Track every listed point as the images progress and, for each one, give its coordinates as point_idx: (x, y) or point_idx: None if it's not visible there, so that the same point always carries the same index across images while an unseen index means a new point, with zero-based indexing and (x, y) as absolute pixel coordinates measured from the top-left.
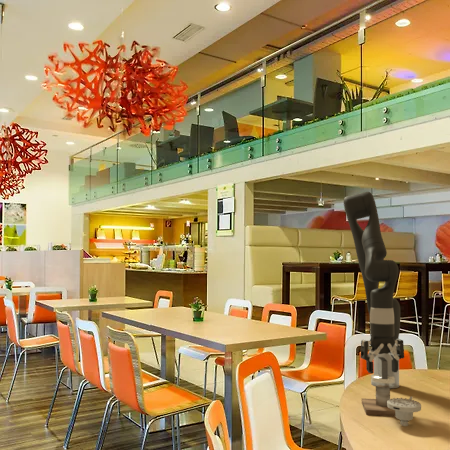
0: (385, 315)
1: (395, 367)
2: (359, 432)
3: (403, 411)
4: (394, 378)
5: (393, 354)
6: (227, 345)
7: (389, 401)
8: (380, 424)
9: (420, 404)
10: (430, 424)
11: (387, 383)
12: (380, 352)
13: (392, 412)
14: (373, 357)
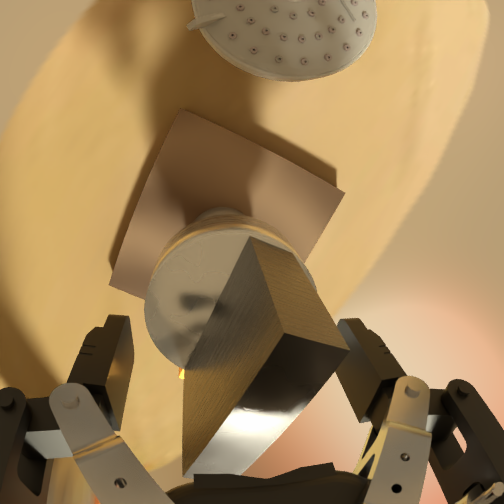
0: None
1: (117, 340)
2: (454, 49)
3: None
4: (158, 267)
5: (124, 447)
6: None
7: (362, 35)
8: (357, 68)
9: None
10: (152, 5)
11: (248, 224)
12: (330, 478)
13: (241, 137)
14: (402, 410)
